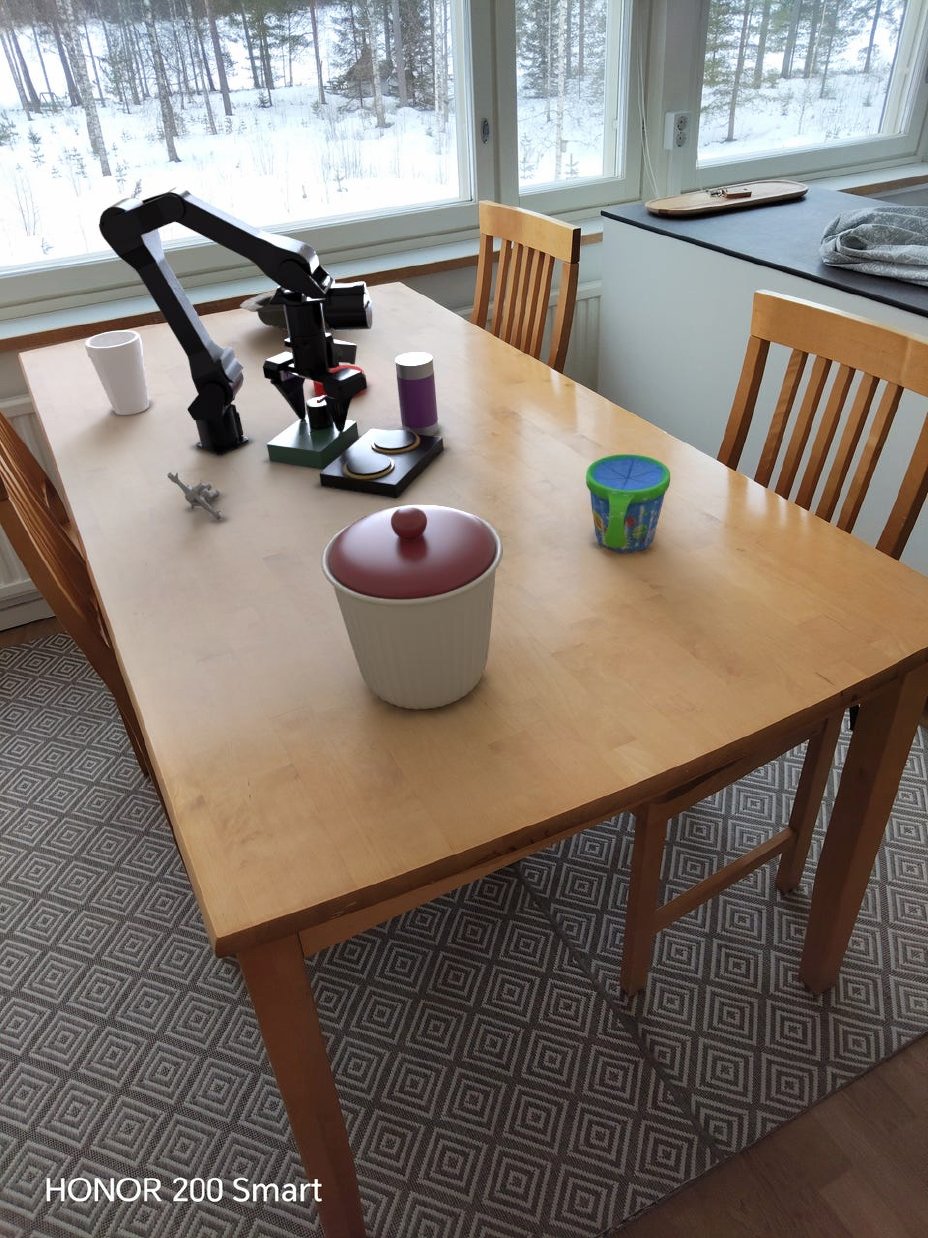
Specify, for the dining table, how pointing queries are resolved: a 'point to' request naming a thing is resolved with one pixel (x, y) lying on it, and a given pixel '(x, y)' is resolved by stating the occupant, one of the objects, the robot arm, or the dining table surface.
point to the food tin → (417, 393)
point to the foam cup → (120, 369)
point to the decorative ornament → (319, 386)
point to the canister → (416, 600)
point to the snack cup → (626, 500)
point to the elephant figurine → (198, 494)
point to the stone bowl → (272, 310)
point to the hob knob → (318, 414)
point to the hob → (382, 462)
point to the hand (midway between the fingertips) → (321, 424)
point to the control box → (311, 444)
